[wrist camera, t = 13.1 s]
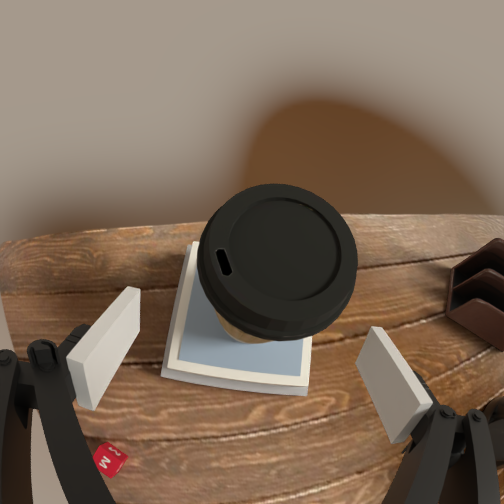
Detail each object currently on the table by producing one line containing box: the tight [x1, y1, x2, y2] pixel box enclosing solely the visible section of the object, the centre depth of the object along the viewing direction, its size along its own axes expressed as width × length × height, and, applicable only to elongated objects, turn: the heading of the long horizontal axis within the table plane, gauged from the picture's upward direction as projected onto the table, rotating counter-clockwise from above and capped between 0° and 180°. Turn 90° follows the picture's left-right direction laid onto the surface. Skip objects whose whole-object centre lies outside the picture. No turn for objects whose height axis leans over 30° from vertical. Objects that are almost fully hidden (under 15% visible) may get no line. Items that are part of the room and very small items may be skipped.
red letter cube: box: [93, 442, 128, 478], centre depth 23 cm, size 3×3×3 cm
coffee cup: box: [197, 184, 358, 344], centre depth 22 cm, size 10×10×15 cm
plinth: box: [161, 241, 312, 396], centre depth 32 cm, size 16×16×6 cm
